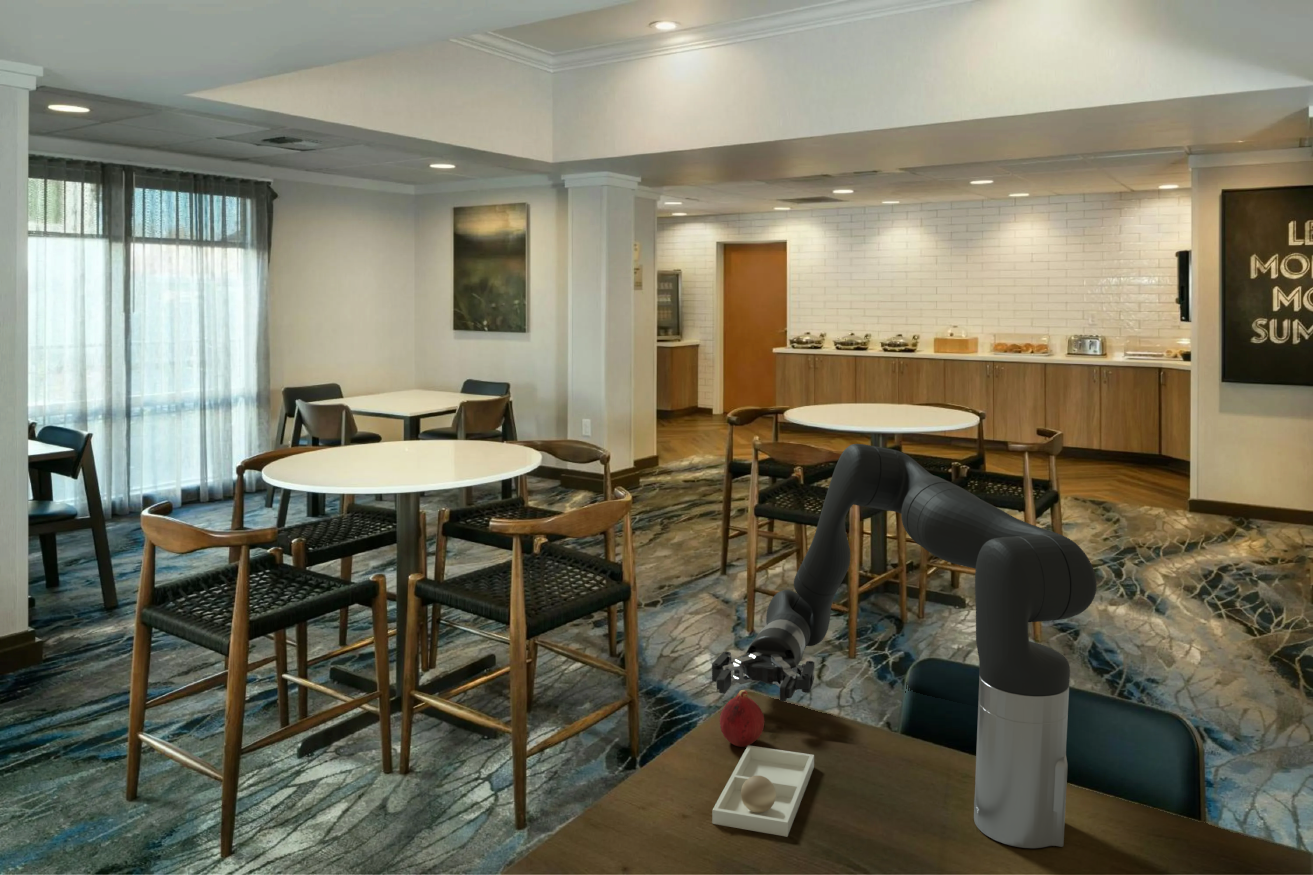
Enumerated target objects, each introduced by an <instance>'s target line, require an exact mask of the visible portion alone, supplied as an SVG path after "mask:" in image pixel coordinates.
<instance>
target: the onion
mask: <svg viewBox="0 0 1313 875" xmlns="http://www.w3.org/2000/svg"><path fill="white" fill-rule="evenodd" d="M748 695H749V693H748V691H747V690H746V689H742V690H739V692H737V694H736V696H735V697H733V698H731V699H730V700H728V702H727V703H726V704H725V705H724V706H723V709H721V712H720V716H719V725H720V730H721V733H722V735H723V737H724V738H725V739H726V741H728V742H729V743H730V744H732V745H734V746H736V747H739V748H740V747H741V748H746V747H747V746H748V745H749V746H751V745H752V744H753V743H754V742H755V741H757V740H758V739H759V738H760V737H761V736H762V734H763V730H764V726H765V716H764V714H763V711H762V708H760V706H759V705H758V704H757V702H755V700H753V699H752V698H750V697H749V696H748Z"/></svg>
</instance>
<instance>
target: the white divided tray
mask: <svg viewBox="0 0 1313 875" xmlns="http://www.w3.org/2000/svg"><path fill="white" fill-rule="evenodd" d="M745 748H746V749H745V750H744V752H743V753H742V755H741V756H740V759H739V761H738V763H737V764H736V766H735V768H734V770H733V771H732V773H731V775H730V777H729V779H728V780H727V782H726V784H725V787H724V788H723V790H722V792H721V793H720V795H719V797H718V799H717V801H716V802H715V805H714V807H713V808H712V813H711V816H712V818H711V819H712V820H711V823H712V824H714V825H717V826H718V825H719V826H724V827H731V828H737V829H741V830H748V831H753V832H758V833H764V834H770V835H776V836H782V837H787V838H788V836H789V834H790V831H791V828H792V826H793V823H794V820H795V818H796V816H797V813H798V811H799V808H800V805H801V803H802V802H801V801H802V799H803V798H804V795H805V792H806V790H807V787H808V784H809V782H810V779H811V776H812V774H813V770H814V768H815V754H811V753H810V754H809V753H803V752H797V751H789V750H782V749H777V748H769V747H764V746H763V747H762V746H755V745H748V746H746V747H745ZM752 776H763V777H766V778H767V779H769V780H770V781H771V782H772V784H773V785H774V787H775V791H776V799H775V802H774V804H773V806H772V807H771V808H770V809H769V810H767V811H765V812H762V813H756V812H753V811H750V810H749V809H748V808H747V807H746V806H745V805H744V803H743V801H742V799H741V788H742V786H743V784H744V782H745V781H746V780H747V779H748V778H750V777H752Z"/></svg>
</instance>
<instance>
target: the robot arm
mask: <svg viewBox="0 0 1313 875" xmlns="http://www.w3.org/2000/svg"><path fill="white" fill-rule="evenodd" d="M824 498H825V499H824V500H823V506H822V509H821V512H820V515H819V519H818V521H817V526H816V529H815V533H814V536H813V538H812V541H811V543H810V545H809V549H808V550H807V552H806V554H805V556H804V557H803V558H804V559H803V560H802V561H801V564H800V566H799V567H798V570H797V571H796V572H797V573H796V574H795V576H794V580H793V588H794V590H795V591H793V590H791V589H783V590H780V591H778V592H776V593H775V594H774V596H773V597H772V598H771V600H770V602H769V603H768V605H767V606H768V607H767V610H766V618H765V621H766V622H765V624H766V625H765V626H764V627H763V628H762V629H761V630H760V631H759V632H758V634H757V635H756V637H755V638H754V639H753V641H752V642H751V644H750V645H749V646H748V648H747V651H746V654H744V655H741V656H739V658H738V657H732V655H731V652H730V651H723V652H721V653H720V655H719V656H718V657H717V658H716V659H715V660H714V661H713V662H712V663H711V681H712V682H715V683H716V690H718V691H719V692H718V693H719V694H723V695H725V694H726V693H727V691H728V690H729V688H730V687H731V685H732V684H736V683H737V684H739V685H744V684H748V683H752V682H756V683H757V682H761V683H763V684H767V685H772V686H773V685H776V686H777V687H779V701H780V702H784V703H785V702H786V701H787V699H791V698H793V697H794V696H793V695H794V694H795V693H797V691H799V690H801V692H802V693H806V694H807V693H811V690H812V688H813V684H814V681H815V661H813V660H807V661H806V662H805V663H802V664H800V663H801V661H803V657H804V654H805V650H806V648H807V647H814V646H816V645H818V644H820V643H821V642H822V641H824V639H825V637H826V635H827V633H828V631H829V630H828V629H829V626H830V621H831V612H832V606H833V601H834V599H835V596H836V594H837V592H838V590H839V588H840V586H841V584H842V582H843V580H844V579H845V576H846V574H847V572H848V570H849V568H850V564H851V549H850V548H851V547H850V543H849V540H848V536H847V531H846V530H847V529H846V517H847V515H848V513H849V511H850V510H851V508H852V507H853V506H860V507H865V508H871V509H877V510H882V511H889V512H895V513H898V514H901V517H900V518H901V522H902V525H903V529H904V530H905V532H906V534H907V535H908V536H909V537H910V539H911V540H913V541H914V542H915V543H916V544H918V545H919V546H920V547H921V548H923V549H924V550H926V551H927V552H929V553H930V554H931V555H933V556H935V557H936V558H939V559H941V560H942V561H945V562H948V563H951V564H954V565H958V566H963V567H966V568H970V569H975V571H974V572H975V573H974V592H975V593H974V595H975V597H974V598H975V599H974V600H975V643H976V650H977V655H978V656H977V657H978V663H979V669H978V670H979V679H978V680H979V681H978V703H977V706H978V707H977V730H976V754H975V755H976V756H975V777H974V778H975V782H974V798H973V809H974V810H973V820H974V824H975V826H976V827H977V829H978V830H979V831H981V833H982V834H984V835H985V836H987V837H989V838H991V839H992V840H994V841H996V842H999V843H1002V844H1004V845H1008V846H1012V847H1017V848H1022V849H1041V848H1047V847H1052V846H1053V847H1055V846H1056V847H1064V842H1065V841H1064V840H1065V839H1064V838H1065V824H1066V821H1065V820H1066V803H1067V802H1066V800H1067V787H1068V786H1067V785H1068V784H1067V781H1068V760H1067V740H1068V739H1067V738H1068V721H1069V720H1068V719H1069V718H1068V715H1069V696H1070V682H1071V680H1070V678H1071V669H1070V663H1069V661H1068V659H1067V657H1066V656H1065V655H1063V654H1062V653H1060V652H1059V651H1057V650H1055V649H1053V648H1052V647H1049V646H1046V645H1044V644H1041V643H1037V642H1034V641H1031V640H1030V639H1029V623H1037V622H1038V623H1040V622H1050V621H1060V620H1066V619H1070V618H1073V617H1076V616H1078V615H1081V614H1082V613H1083V612H1085V611H1086V610H1087V609H1088V608H1089V607H1090V605H1091V604H1093V601H1094V599H1095V597H1096V593H1097V585H1098V584H1097V576H1096V572H1095V569H1094V567H1093V564H1092V563H1091V561H1090V559H1089V557H1088V556H1087V554H1086V553H1085V551H1084V550H1083V549H1082V547H1080V546H1079V545H1078V544H1077V542H1075V541H1074V540H1072V539H1070V538H1069V537H1068V536H1065V535H1062V534H1060V533H1058V532H1055V531H1051V530H1048V529H1046V528H1043V527H1040V526H1036V525H1034V524H1031V523H1028V522H1026V521H1024V520H1021V519H1019V518H1017V517H1015V516H1014V515H1011V514H1009V513H1008V512H1006V511H1005V510H1002V509H1000V508H998V507H996V506H994V505H993V504H991V503H989V502H987V501H986V500H983V499H982V498H981V499H980V497H978V496H977V495H975V494H974V493H972V492H970V491H968V490H966V489H964V488H962V487H960V486H959V485H957V484H955V483H952V482H951V481H949V480H946V479H944V478H941V477H940V476H937V475H933V474H932V473H930V472H929V471H928V470H926V469H925V468H924V467H923V466H922V465H921V464H919V463H918V462H917V461H916V460H915V459H913V457H911V456H909V455H908V454H906V453H905V452H902V451H899V450H897V449H892V448H887V447H881V446H875V445H871V444H870V445H869V444H863V443H861V444H860V443H854V444H850V445H848V446H847V447H846V448H845V449H844V450H843V452H842V453H841V455H840V456H839V459H838V461H837V463H836V465H835V467H834V470H833V473H832V476H831V479H830V483H829V485H828V489H827V492H826V496H825V497H824ZM799 664H800V665H799ZM732 671H734V672H733V676H732ZM798 675H799V676H798Z"/></svg>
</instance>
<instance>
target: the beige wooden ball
mask: <svg viewBox="0 0 1313 875" xmlns="http://www.w3.org/2000/svg"><path fill="white" fill-rule="evenodd" d="M741 799H742V801H743V803H744V805H745V806H746V807H747V808H748V809H749V810H750V811H753V812H756V813H762V812H765V811H767V810H769V809H770V808H771V807H772V806H773V804H774V802H775V799H776V791H775V787H774V785H773V784H772V782H771V781H770V780H769V779H767V778H766V777H763V776H752V777H750V778H748V779H747V780H746V781H745V782H744V784H743V786H742V788H741Z"/></svg>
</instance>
